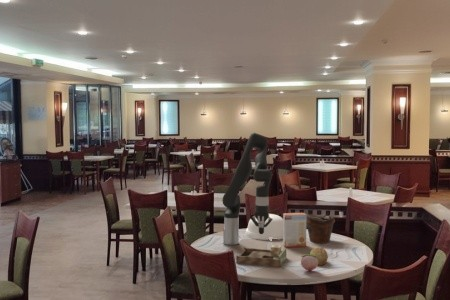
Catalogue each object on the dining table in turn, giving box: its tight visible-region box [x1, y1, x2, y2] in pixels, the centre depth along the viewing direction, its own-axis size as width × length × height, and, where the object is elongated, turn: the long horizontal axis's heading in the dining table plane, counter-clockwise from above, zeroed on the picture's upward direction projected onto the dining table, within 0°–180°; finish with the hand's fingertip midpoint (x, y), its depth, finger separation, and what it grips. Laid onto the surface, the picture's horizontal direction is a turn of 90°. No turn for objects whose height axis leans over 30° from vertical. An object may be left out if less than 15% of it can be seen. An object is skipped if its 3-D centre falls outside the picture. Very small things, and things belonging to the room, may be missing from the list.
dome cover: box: [244, 213, 283, 241], centre depth 346 cm, size 32×30×14 cm
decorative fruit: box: [300, 252, 319, 272], centre depth 265 cm, size 9×8×10 cm
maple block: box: [270, 244, 282, 256], centre depth 285 cm, size 5×5×5 cm
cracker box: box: [282, 212, 307, 248], centre depth 315 cm, size 14×6×21 cm, turn 95°
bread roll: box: [309, 247, 329, 266], centre depth 281 cm, size 10×15×8 cm, turn 3°
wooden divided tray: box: [235, 247, 287, 268], centre depth 284 cm, size 25×18×6 cm
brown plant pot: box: [306, 213, 336, 244], centre depth 328 cm, size 18×20×18 cm
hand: (261, 233), depth 287 cm, fingers closed
